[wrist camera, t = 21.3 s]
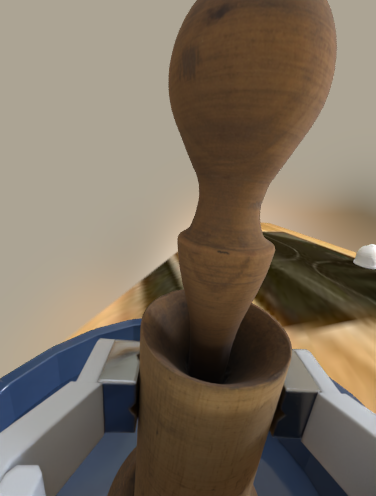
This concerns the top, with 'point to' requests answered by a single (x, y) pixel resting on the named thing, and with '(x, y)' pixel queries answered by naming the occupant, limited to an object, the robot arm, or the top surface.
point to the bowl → (122, 444)
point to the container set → (366, 257)
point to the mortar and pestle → (226, 246)
